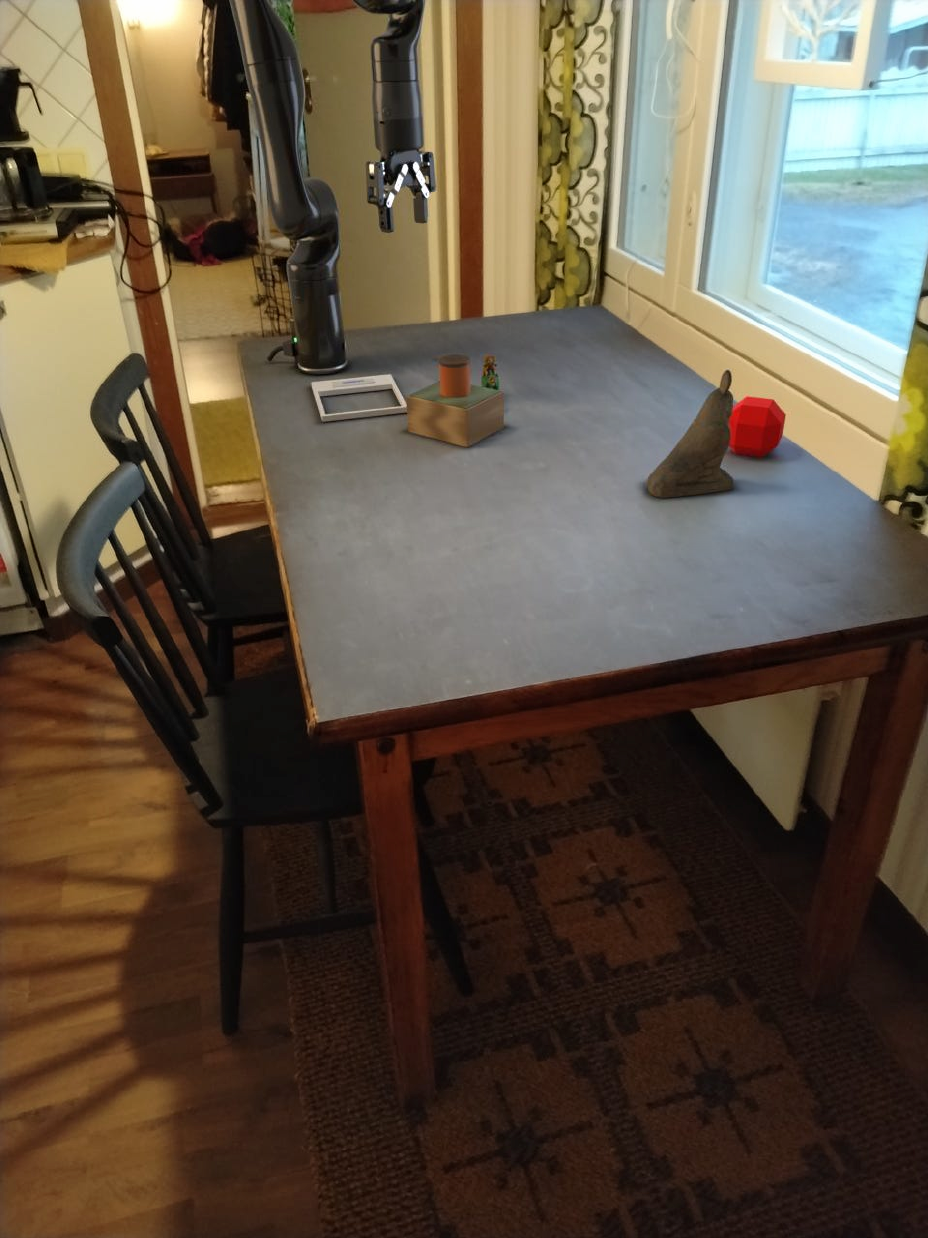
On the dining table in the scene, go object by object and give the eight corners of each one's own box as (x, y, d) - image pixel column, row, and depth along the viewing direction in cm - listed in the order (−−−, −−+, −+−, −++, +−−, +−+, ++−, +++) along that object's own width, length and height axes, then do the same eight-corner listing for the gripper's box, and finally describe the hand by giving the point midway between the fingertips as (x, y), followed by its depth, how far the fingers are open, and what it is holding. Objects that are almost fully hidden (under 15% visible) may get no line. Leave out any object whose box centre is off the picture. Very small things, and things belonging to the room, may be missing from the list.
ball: (782, 444, 146) (790, 396, 142) (773, 464, 140) (781, 414, 136) (729, 437, 149) (735, 390, 145) (718, 456, 143) (724, 407, 139)
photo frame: (390, 373, 177) (408, 405, 162) (390, 379, 177) (408, 412, 162) (311, 381, 174) (321, 415, 159) (311, 387, 175) (322, 421, 160)
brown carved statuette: (717, 492, 139) (758, 370, 130) (731, 508, 134) (774, 382, 125) (640, 482, 136) (677, 358, 127) (652, 498, 132) (690, 370, 123)
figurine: (495, 388, 172) (495, 343, 167) (503, 412, 162) (502, 364, 157) (478, 389, 171) (477, 344, 167) (485, 413, 161) (484, 365, 157)
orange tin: (433, 394, 152) (432, 360, 149) (452, 385, 155) (451, 352, 152) (458, 399, 149) (457, 365, 146) (476, 390, 153) (476, 357, 150)
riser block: (408, 432, 155) (405, 394, 152) (445, 413, 162) (444, 377, 159) (467, 447, 149) (466, 409, 146) (504, 427, 156) (503, 390, 152)
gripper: (408, 109, 153) (414, 217, 161) (348, 118, 143) (357, 233, 152) (445, 110, 149) (449, 221, 158) (386, 119, 139) (393, 237, 148)
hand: (404, 227), depth 155 cm, fingers open, 8 cm apart
